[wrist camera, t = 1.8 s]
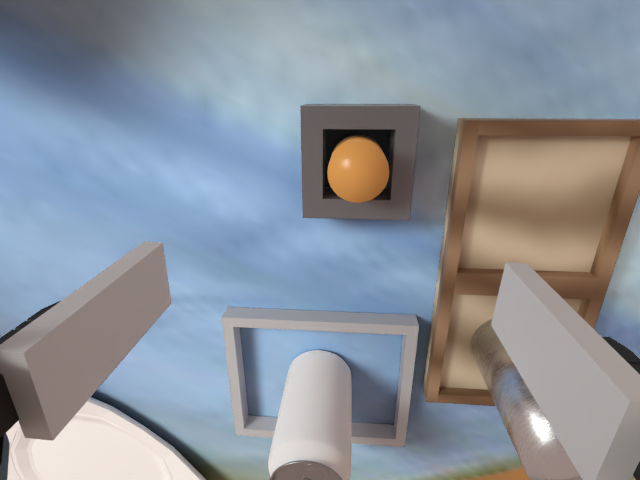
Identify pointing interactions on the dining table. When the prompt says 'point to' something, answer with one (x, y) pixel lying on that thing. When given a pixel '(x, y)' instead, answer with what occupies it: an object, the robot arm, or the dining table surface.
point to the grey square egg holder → (401, 159)
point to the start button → (358, 169)
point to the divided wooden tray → (526, 228)
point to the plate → (97, 450)
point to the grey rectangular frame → (321, 322)
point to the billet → (520, 411)
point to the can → (314, 421)
